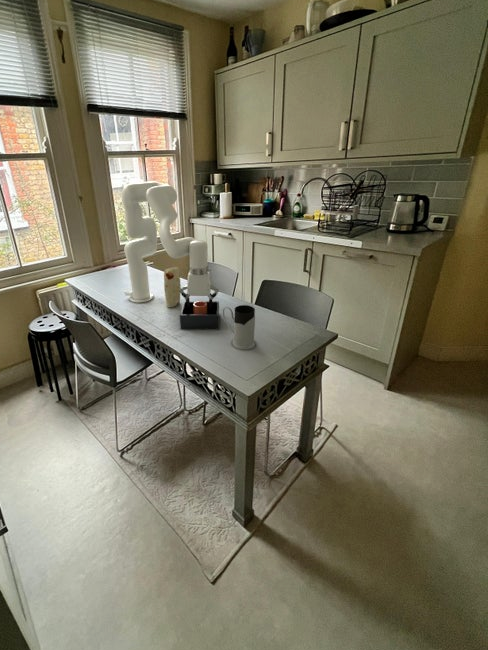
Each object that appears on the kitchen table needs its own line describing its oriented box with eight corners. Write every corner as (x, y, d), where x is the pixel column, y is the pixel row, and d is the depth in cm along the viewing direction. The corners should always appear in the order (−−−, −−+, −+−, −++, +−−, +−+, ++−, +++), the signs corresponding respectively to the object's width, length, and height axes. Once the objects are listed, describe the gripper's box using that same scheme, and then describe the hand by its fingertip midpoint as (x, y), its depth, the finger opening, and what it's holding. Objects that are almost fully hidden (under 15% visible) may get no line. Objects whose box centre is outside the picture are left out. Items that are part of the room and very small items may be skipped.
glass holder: (247, 351, 119) (248, 316, 113) (216, 340, 128) (216, 306, 122) (259, 342, 125) (260, 307, 119) (229, 331, 134) (229, 299, 128)
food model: (172, 310, 156) (169, 271, 148) (162, 306, 160) (159, 269, 152) (184, 303, 163) (182, 266, 155) (175, 300, 167) (172, 264, 159)
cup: (193, 323, 141) (192, 306, 137) (194, 317, 146) (193, 301, 143) (207, 323, 140) (206, 306, 137) (207, 317, 145) (207, 301, 142)
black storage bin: (180, 329, 138) (179, 315, 135) (184, 314, 151) (183, 301, 148) (218, 329, 136) (218, 315, 133) (219, 314, 149) (219, 301, 146)
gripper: (219, 267, 136) (218, 303, 143) (179, 267, 138) (180, 302, 145) (219, 273, 129) (218, 310, 137) (177, 273, 131) (178, 309, 138)
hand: (199, 306), depth 141 cm, fingers open, 9 cm apart
